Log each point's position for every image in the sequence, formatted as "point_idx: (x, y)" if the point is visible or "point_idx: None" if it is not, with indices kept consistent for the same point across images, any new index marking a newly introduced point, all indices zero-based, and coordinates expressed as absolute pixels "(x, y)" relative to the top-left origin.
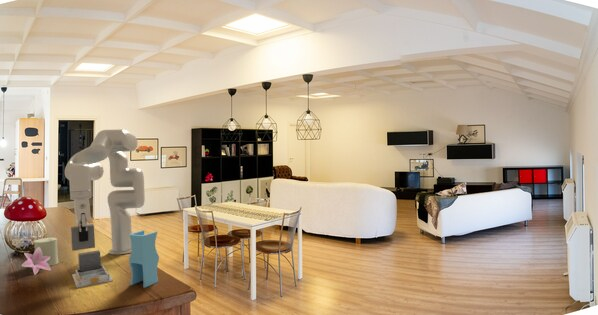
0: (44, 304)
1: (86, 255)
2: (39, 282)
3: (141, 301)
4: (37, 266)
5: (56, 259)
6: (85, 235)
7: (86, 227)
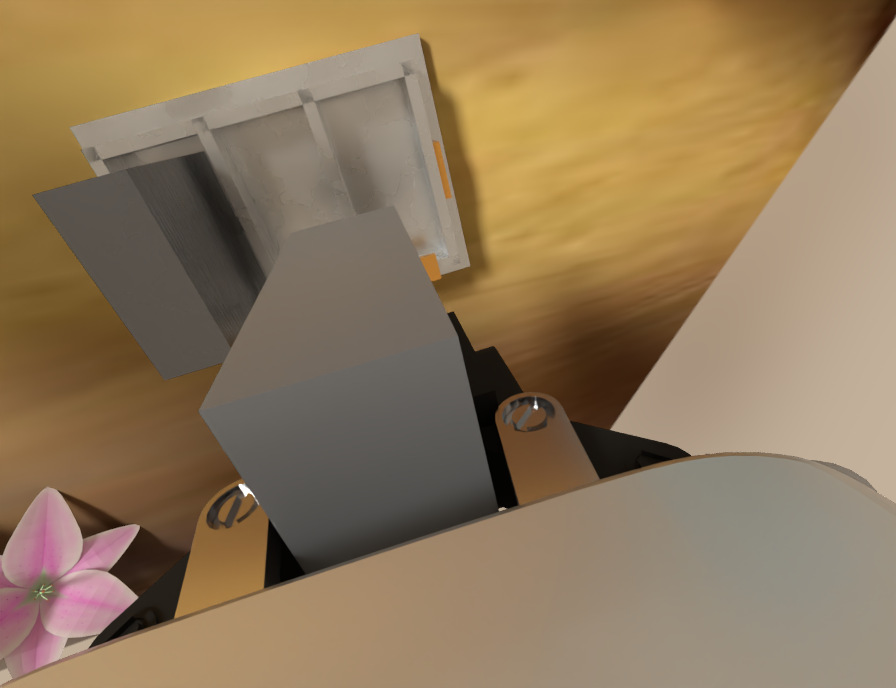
0: (621, 348)
1: (207, 297)
2: None
3: None
4: (71, 560)
5: None
6: (510, 376)
7: (577, 453)
